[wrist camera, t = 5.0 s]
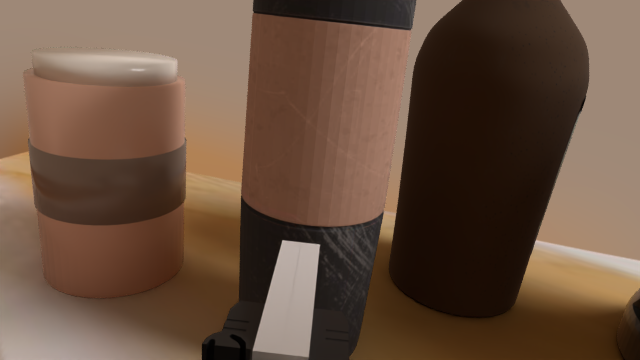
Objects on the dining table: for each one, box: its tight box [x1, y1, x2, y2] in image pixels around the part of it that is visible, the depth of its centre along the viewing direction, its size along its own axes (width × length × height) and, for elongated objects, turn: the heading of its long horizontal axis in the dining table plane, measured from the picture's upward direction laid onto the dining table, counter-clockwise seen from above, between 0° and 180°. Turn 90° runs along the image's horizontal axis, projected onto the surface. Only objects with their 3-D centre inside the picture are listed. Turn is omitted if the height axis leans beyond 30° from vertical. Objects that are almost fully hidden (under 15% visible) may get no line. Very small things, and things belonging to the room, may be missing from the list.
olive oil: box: [389, 0, 589, 317], centre depth 31 cm, size 11×11×25 cm
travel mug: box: [239, 0, 416, 356], centre depth 25 cm, size 8×8×20 cm
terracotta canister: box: [23, 47, 186, 298], centre depth 31 cm, size 9×9×14 cm
